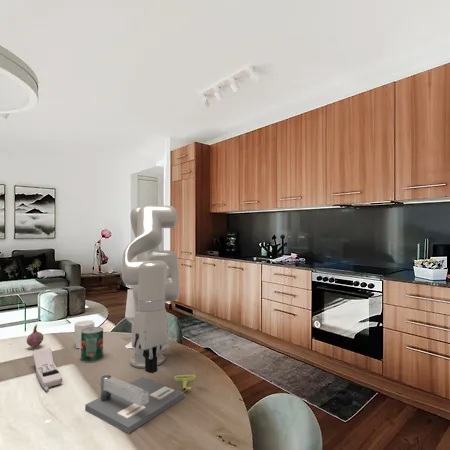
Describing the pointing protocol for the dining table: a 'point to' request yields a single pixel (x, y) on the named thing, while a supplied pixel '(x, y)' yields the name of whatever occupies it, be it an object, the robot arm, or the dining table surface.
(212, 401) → the dining table surface
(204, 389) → the dining table surface
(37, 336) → the vegetable
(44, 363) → the mobile phone
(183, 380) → the key
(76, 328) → the white cup
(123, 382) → the swing arm
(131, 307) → the champagne flute
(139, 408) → the label panel
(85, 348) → the canned tomato
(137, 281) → the robot arm
